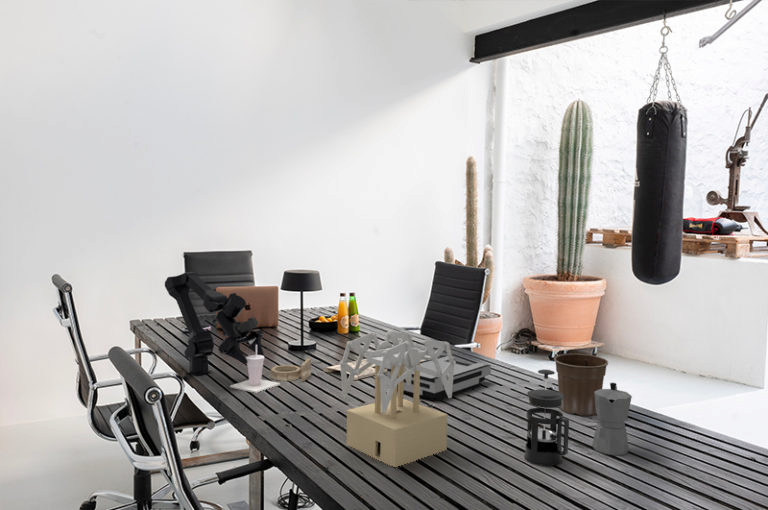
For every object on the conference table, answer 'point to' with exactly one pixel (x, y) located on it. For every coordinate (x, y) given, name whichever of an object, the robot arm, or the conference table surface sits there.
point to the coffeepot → (611, 421)
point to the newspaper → (366, 373)
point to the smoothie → (255, 368)
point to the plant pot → (579, 381)
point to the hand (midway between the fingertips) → (255, 360)
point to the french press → (541, 440)
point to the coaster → (247, 387)
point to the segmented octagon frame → (292, 371)
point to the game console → (462, 379)
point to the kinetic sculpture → (396, 400)
